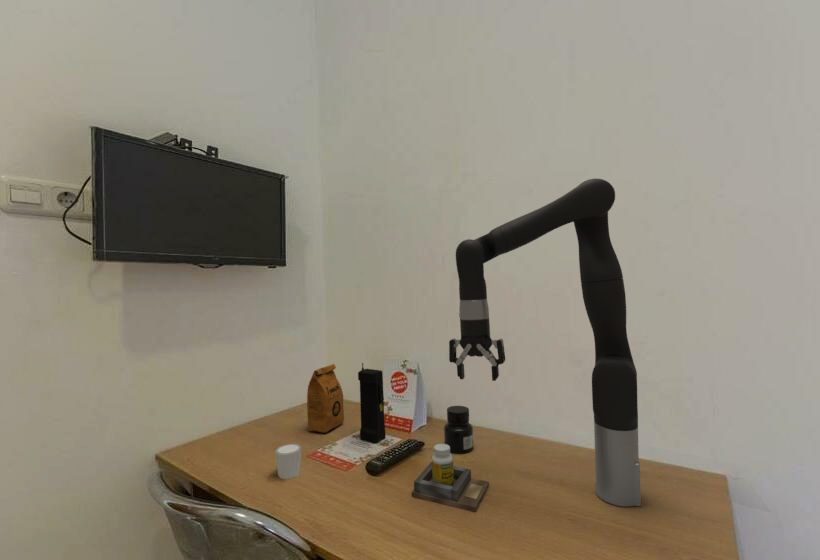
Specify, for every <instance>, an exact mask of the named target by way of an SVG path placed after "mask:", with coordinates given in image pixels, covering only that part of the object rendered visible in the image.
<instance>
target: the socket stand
mask: <svg viewBox="0 0 820 560" xmlns="http://www.w3.org/2000/svg"><path fill="white" fill-rule="evenodd" d="M453 470H454V485H453V486H448V485H444V484H439V483H434V482H433V477H432V461H431V462H430V463H429V464H428V465H427V466H426V467H425V468H424V469H423V470H422V472H421V473H420V474H419V475H418V476H417V478H416V479H415V480H414V481H413V490H411V497H413V498H417V499H421V500H425V501H429V502H434V503H437V504H441V505H442V504H443V505H446V506H449V507H454V508H457V509H463V510H467V511H471V512H477V510H478V508H479V506H480V504H481V502H482V501H483V498H484V496H485V494H486V492H487V490H488V488H489V486H490V481H487V480H483V479H478V478H473V477H472V469H470V468H465V467H460V466H456V465H453Z"/></svg>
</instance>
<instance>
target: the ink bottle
mask: <svg viewBox="0 0 820 560" xmlns="http://www.w3.org/2000/svg"><path fill="white" fill-rule="evenodd" d="M446 418H447V419H446V420H447V423H445V424H444V426H443V427H444V428H443V432H444V434H443V438H444V439H443V440H444V444H447V445H449V446H450V453H455V454H465V453H469V452H471V451H472V450H473V449H474V429H473V428H474V427H473V425H472V424H471V423H470V408H468V407H467V406H463V405H452V406H448V407H447V408H446Z"/></svg>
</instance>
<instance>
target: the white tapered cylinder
mask: <svg viewBox="0 0 820 560" xmlns="http://www.w3.org/2000/svg"><path fill="white" fill-rule="evenodd" d="M274 455H275V461H276V468H277V476H278V478H279V477H280V478H279V479H281V478H284V479H283V480H290V478H291V479H293V478H296V477H297V475H298V476H299V475H300V472H301V458H302V457H301V455H302V446H301V445H300V444H297V443H288V444H283V445H280V446H279V447H277V448H276V449H275V451H274Z"/></svg>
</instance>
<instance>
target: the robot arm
mask: <svg viewBox="0 0 820 560" xmlns="http://www.w3.org/2000/svg"><path fill="white" fill-rule="evenodd" d="M615 200H616V191H615V188H614V187H613V185H612V184H611V183H610V182H609V181H607V180H605V179H602V178H590V179H587V180H585V181H583V182H580V184H579V185H577V186H576V187H574V188H573V189H571V190H570V191H568V192H567V193H565V194H564V195H562V196H561V197H559V198H557V199H555V200H553V201H551V202H549V203H547V204H545V205H544V206H541V207H540V208H538V209H535V210H533V211H531V212H528V213H526V214H523V215H520V216H518V217H517V218H514V219H512V220H510V221H508V222H506V223H503V224H501V225H499V226H496V227H495V228H493V229H491V230H490V231H489V232H488V233H486V234H484V235H480V237H477V238H475V239H471V238H470V239H469V238H468V239H464V240H462V241H461V242H460V243H458V245H457V246H456V249H455V250H456V251H455V264H456V272H457V275H458V276H457V277H458V284H459V285H458V293H459V308H458V309H459V313H458V314H459V315H458V317H459V324H460V325H459V326H460V328H459V329H460V339H456V338H452V339H450V340H449V341H448V344H449V346H448V348H449V349H448V352H449V354H448V356H449V357H448V360H449V361H448V362H450V363H453V364H455V365H456V371H457V372H456V374H457V377H458V378H459V380H465V363H464V361H465V360H466V358H467V357H468V356H469V357H479V358H482V357H484V358H485V359H486V360H487V361H488V362H489V363H490V364H491V380H492V381H493V382H495V381H497V379H498V378H499V375H500V373H499V372H500V371H499V365H503V364H504V363H505V362H506V353H505V346H504V339H503V338H499V339H492V338H491V328H490V327H491V326H490V310H489V303H488V294H487V293H488V292H487V283H486V280H485V270H484V267H485V266H484V264H485V263H487V262H489V261H491V260H494V259H495V258H497V257H499V256H501V255H503V254H507V253H509V252H512V251H514V250H517V249H519V248H521V247H523V246H525V245H528V244H529V243H531V242H532V243H533V242H534V241H535V240H537V239H539V238H541V237H543V236H545V235H547V234H549V233H550V232H552V231H554V230H556V229H558V228H561V227H563V226H565V225H569V224H570V223H573V225H574V228H575V232H576V238H577V243H578V263H579V264H578V265H579V276H580V285H581V292H582V299H583V303H584V307H585V311H586V315H587V318H588V320H589V324H590V328H591V329H592V332H593V333H592V334H593V338H594V351H595V352H594V353H595V354H594V355H595V359H594V360H595V362H594V367H593V369H592V373H591V394H592V395H591V396H592V398H591V399H592V400H591V401H592V411H593V421H594V422H593V424H594V425H593V426H594V427H593V428H594V430H593V431H594V433H593V434H594V464H595V465H594V471H595V472H594V473H595V474H594V475H595V493H596V495H597V497H598V498H600V499H601V500H602V501H604V502H606V503H609V504H610V505H614V506H618V507H627V508H628V507H641V506H642V503H641V502H642V501H641V500H642V499H641V463H640V461H639V459H640V458H639V452H640V451H639V411H638V410H639V408H638V373H637V369H636V365H635V362H634V359H633V356H632V352H631V348H630V343H629V339H628V333H627V332H628V331H627V300H626V299H627V297H626V289H625V282H624V275H623V272H622V268H621V264H620V261H619V258H618V257H617V254H616V251H615V249H614V247H613V244H612V241H611V237H610V229H609V211H610V210H611V209H612V207H613V206H614V203H615ZM459 346H460V347H461V348H462V349H463V351H462V352H461V353H460V355H459V357H457V348H458V347H459ZM492 346H494V348H495V349H497V357H496V356H495V355H494V353H493V351H492V350H491V347H492Z"/></svg>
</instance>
